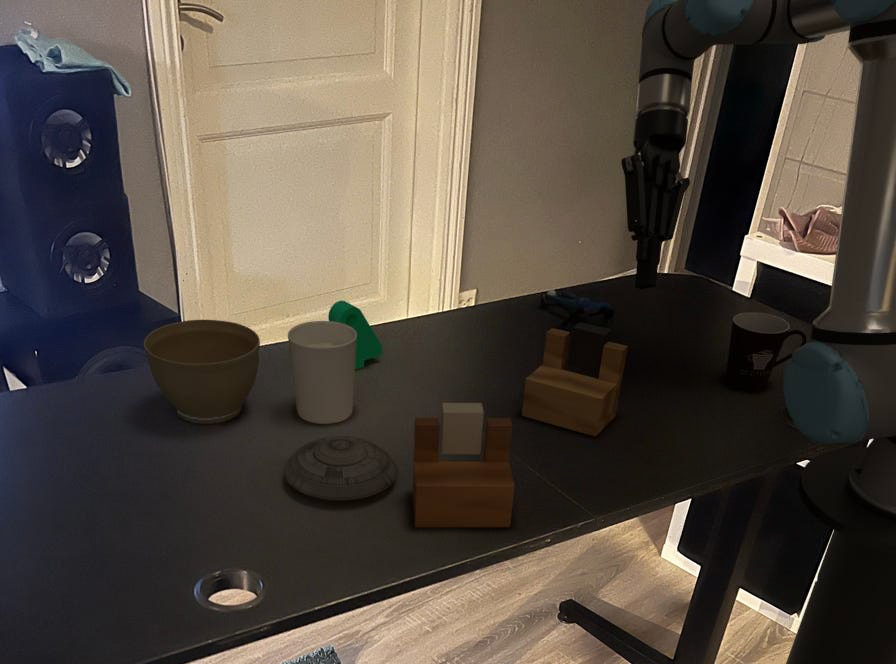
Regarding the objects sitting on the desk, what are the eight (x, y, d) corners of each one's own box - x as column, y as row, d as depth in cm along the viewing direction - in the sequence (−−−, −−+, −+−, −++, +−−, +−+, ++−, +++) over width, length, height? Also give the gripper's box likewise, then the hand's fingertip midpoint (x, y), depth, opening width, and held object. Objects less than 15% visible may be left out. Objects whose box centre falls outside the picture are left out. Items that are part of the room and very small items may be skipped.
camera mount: (355, 346, 164) (355, 285, 158) (382, 361, 159) (382, 299, 153) (295, 362, 158) (292, 299, 152) (321, 379, 154) (318, 315, 147)
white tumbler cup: (332, 433, 140) (330, 353, 132) (278, 415, 144) (273, 336, 136) (370, 408, 146) (370, 330, 139) (318, 391, 150) (315, 315, 143)
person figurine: (525, 318, 180) (587, 338, 167) (525, 293, 178) (588, 312, 165) (571, 308, 185) (635, 327, 172) (572, 283, 182) (637, 300, 169)
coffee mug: (714, 388, 155) (729, 327, 149) (722, 368, 161) (736, 308, 155) (789, 402, 152) (807, 340, 146) (794, 381, 158) (812, 321, 152)
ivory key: (440, 444, 125) (442, 402, 122) (478, 444, 125) (481, 402, 122) (441, 454, 123) (443, 412, 119) (480, 454, 123) (483, 412, 120)
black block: (574, 359, 147) (580, 321, 144) (605, 366, 145) (611, 329, 142) (567, 365, 146) (572, 327, 142) (598, 373, 144) (604, 335, 140)
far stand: (543, 396, 151) (551, 327, 144) (615, 416, 147) (628, 346, 140) (521, 416, 146) (528, 345, 139) (595, 436, 141) (607, 365, 134)
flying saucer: (359, 521, 122) (358, 483, 118) (262, 488, 127) (258, 451, 124) (417, 471, 132) (418, 434, 129) (325, 442, 137) (324, 407, 134)
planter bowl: (234, 444, 136) (227, 371, 129) (133, 424, 140) (121, 352, 133) (282, 397, 148) (278, 328, 141) (188, 380, 152) (179, 312, 145)
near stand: (412, 494, 127) (414, 417, 120) (503, 494, 128) (510, 418, 121) (415, 527, 121) (417, 448, 114) (510, 527, 122) (518, 449, 115)
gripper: (668, 139, 146) (653, 300, 149) (611, 110, 138) (595, 281, 141) (711, 125, 140) (694, 292, 143) (653, 94, 132) (636, 272, 135)
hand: (645, 286), depth 142 cm, fingers closed
